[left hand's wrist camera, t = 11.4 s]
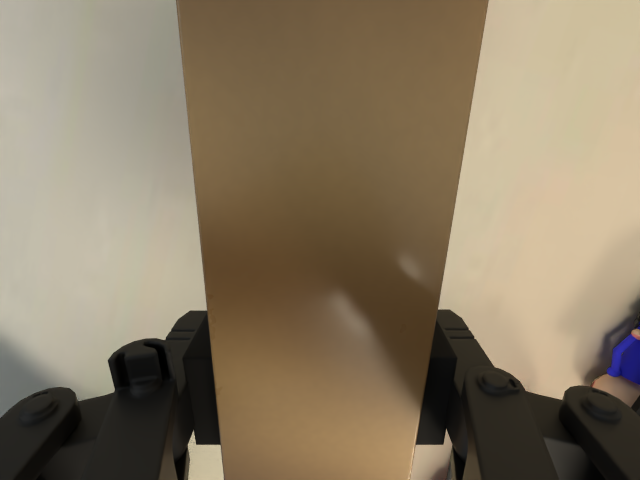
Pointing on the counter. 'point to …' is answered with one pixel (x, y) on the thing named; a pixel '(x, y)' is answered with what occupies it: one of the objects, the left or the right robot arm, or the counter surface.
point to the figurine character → (624, 371)
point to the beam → (325, 219)
